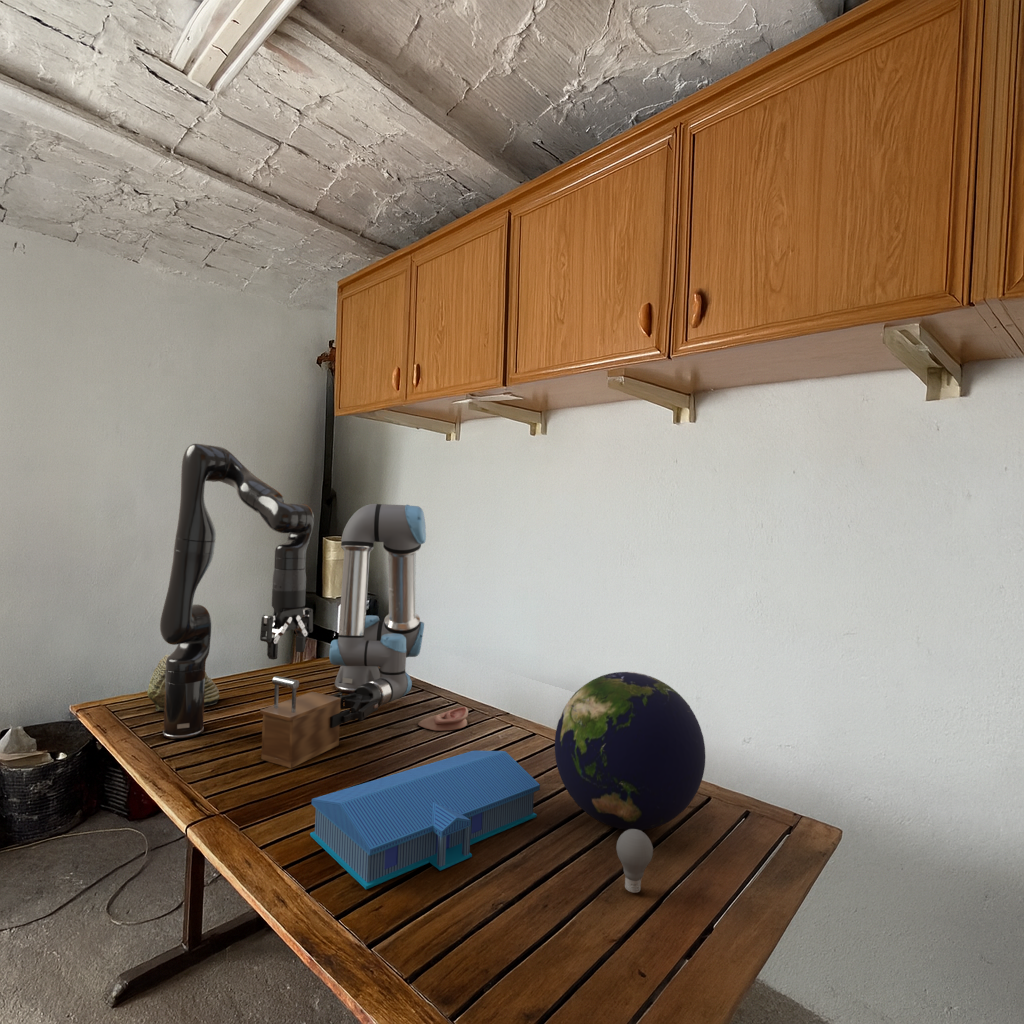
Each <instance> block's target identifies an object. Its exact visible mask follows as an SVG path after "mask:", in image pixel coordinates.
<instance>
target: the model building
mask: <svg viewBox="0 0 1024 1024" xmlns="http://www.w3.org/2000/svg"><path fill="white" fill-rule="evenodd" d="M538 791H541V784H540V783H539V782H538V781H537V780H536V779H535V778H534V777H533V776H532V775H531V774H530V773H529V772H527V771H526V769H524V768H523V766H521V764H519V762H517V761H516V760H515V759H514V757H512V756H511V755H510V754H509V753H508V752H507V750H471V751H467V752H464V753H460V754H457V755H454V756H449V757H447V758H444V759H441V760H437V761H434V762H431V763H427V764H423V765H420V766H417V767H414V768H410V769H407V770H403V771H400V772H397V773H394V774H390V775H387V776H384V777H381V778H380V777H379V778H377V779H374V780H371V781H366V782H364V783H360V784H357V785H354V786H350V787H347V788H344V789H339V790H337V791H334V792H330V793H327V794H324V795H319V796H316V797H314V798H311V806H313V807H314V808H315V817H314V831H311V832H310V833H309V836H310V838H312V839H313V840H314V841H315V842H316V843H317V845H319V846H320V847H321V848H322V849H323V850H325V852H326V853H327V854H329V856H330V857H331V858H333V859H334V860H335V861H336V862H337V863H338V864H339V865H340V866H341V867H342V868H343V869H344V870H345V871H346V872H347V874H349V875H350V876H351V877H352V878H353V879H354V880H355V881H356V882H357V883H359V885H361V886H362V887H363V888H364V890H369V889H371V888H373V887H375V886H378V885H381V884H382V883H385V882H388V881H389V880H392V879H394V878H397V877H399V876H402V875H404V874H406V873H408V872H410V871H413V870H416V869H417V868H420V867H423V866H424V865H427V864H429V863H430V864H431V865H432V866H433V867H434V868H436V869H437V870H438V871H440V872H441V871H443V870H445V869H448V868H450V867H452V866H455V865H457V864H459V863H461V862H463V861H465V860H468V859H471V858H473V853H471V852H470V851H471V846H472V845H474V844H476V843H478V842H482V841H484V840H486V839H488V838H490V837H493V836H495V835H497V834H499V833H502V832H505V831H506V830H507V831H508V830H510V829H512V828H513V827H516V826H519V825H520V824H523V823H525V822H527V821H530V820H532V819H535V818H537V817H538V814H537V813H535V812H534V798H535V797H534V796H535V792H538Z"/></svg>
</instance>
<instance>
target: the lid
mask: <svg viewBox="0 0 1024 1024" xmlns="http://www.w3.org/2000/svg"><path fill="white" fill-rule="evenodd" d="M271 682H272V684H273V685H274V695H273V696H274V697H273V704H272V705H270V706H268V707H265V708H264V707H263V708H261V709H260V710H259V714H260V715H263V714H264V715H268V716H272V717H275V718H279V719H283V720H287V721H292V720H294V719H297V718H300V717H302V716H305V715H307V714H310V713H312V712H315V711H317V710H320V709H322V708H325V707H327V706H330V705H332V704H335V703H337V702H340V701H341V698H339V697H334V696H330V695H331V694H324V693H320V692H316V691H310V692H306V693H304V694H301V695H299V696H297V690H298V688H299V686H300V681H299V680H297V679H294V678H288V677H285V676H279V675H275V676H273V678H272V680H271ZM280 687H284V688H288V689H291V698H290V699H287V700H284V701H281V702H279V693H280Z"/></svg>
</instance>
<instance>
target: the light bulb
mask: <svg viewBox="0 0 1024 1024" xmlns="http://www.w3.org/2000/svg"><path fill="white" fill-rule="evenodd" d="M615 849H616V854H617V857H618V859H619V861H620V863H621V865H622V867H623V873H624V874H623V875H624V876H625V878H624V888H625V890H627V891H628V892H630V893H634V894H635V893H639V892H640V891H641V889H642V887H641V886H642V879H643V877H644V875H645V871H646V868H647V867H648V866H649V864H650V863H651V861H652V859H653V855H654V847H653V843H652V841H651V838H649V836H648V835H647V834H646V833H645V832H643V830H637V829H629V830H624V831H623V832H622V833H621V834H620V835H619V837H618V839H617V841H616V847H615Z"/></svg>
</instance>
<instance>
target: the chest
mask: <svg viewBox="0 0 1024 1024" xmlns="http://www.w3.org/2000/svg"><path fill="white" fill-rule="evenodd" d="M340 712H341V709H340V702H337V703H335V704H332V705H330V706H327V707H325V708H322V709H320V710H317V711H315V712H312V713H310V714H307V715H305V716H302V717H300V718H297V719H294V720H292V721H287V720H283V719H279V718H275V717H272V716H268V715H264V714H262V729H261V755H260V759H261V760H263V761H265V762H270V763H273V764H276V765H279V766H282V767H285V768H288V769H293V768H295V767H298V766H299V765H301V764H303V763H305V762H307V761H309V760H311V759H313V758H316V757H318V756H320V755H321V754H325V752H328V751H330V750H332V749H334V748H336V747H338V746H340V725H341V724H340V725H338V726H336V727H333V728H330V717H331V716H333V715H336V714H338V713H340Z"/></svg>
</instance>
